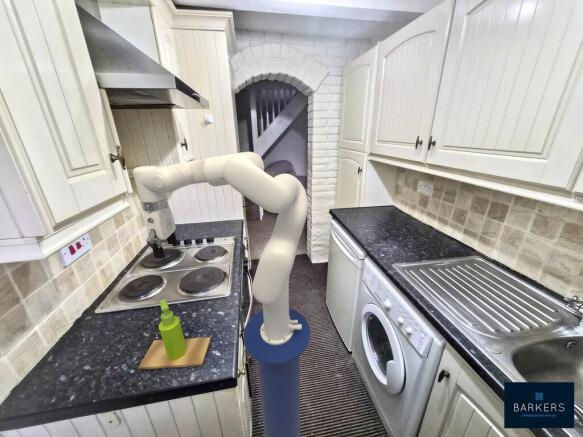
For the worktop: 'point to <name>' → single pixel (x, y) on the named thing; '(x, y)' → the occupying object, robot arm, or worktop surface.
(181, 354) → the soap dispenser
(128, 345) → the worktop surface
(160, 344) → the chopping board
